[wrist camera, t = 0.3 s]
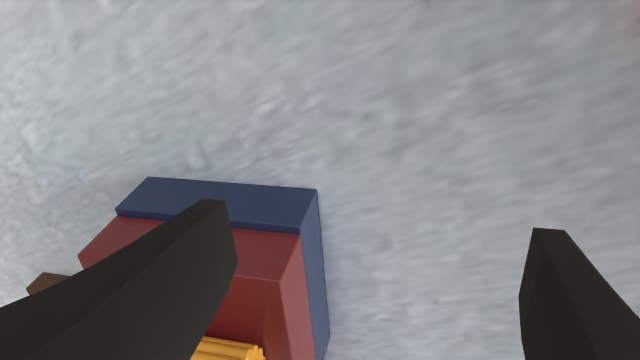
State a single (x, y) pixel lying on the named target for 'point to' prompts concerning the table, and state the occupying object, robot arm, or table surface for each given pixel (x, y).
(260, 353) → the hollow dowel bundle
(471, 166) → the table surface
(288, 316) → the books
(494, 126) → the table surface
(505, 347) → the table surface
